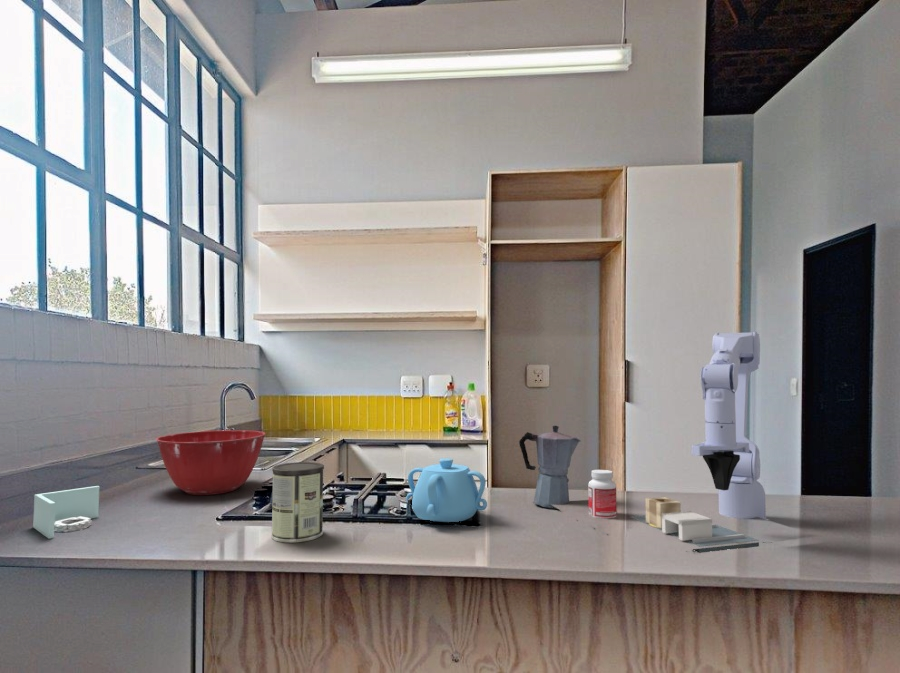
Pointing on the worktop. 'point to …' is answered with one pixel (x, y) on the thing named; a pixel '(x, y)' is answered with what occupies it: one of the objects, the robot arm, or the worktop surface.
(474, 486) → the decorative pot
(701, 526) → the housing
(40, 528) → the right angle wall
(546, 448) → the moka pot
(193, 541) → the worktop surface
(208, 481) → the mixing bowl
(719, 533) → the board
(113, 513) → the worktop surface
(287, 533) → the coffee can
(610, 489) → the pill bottle
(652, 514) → the collar
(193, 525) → the worktop surface
